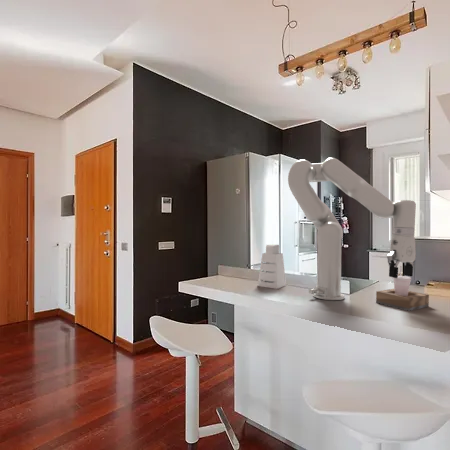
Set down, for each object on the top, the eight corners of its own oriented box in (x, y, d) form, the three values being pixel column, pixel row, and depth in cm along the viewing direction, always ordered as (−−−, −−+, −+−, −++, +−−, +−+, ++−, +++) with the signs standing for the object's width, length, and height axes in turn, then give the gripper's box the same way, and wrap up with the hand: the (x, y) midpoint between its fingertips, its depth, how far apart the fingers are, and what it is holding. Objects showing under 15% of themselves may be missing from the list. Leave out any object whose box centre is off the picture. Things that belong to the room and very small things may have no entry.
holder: (409, 310, 117) (409, 298, 117) (376, 302, 128) (376, 291, 128) (428, 306, 124) (428, 294, 124) (395, 299, 135) (395, 288, 135)
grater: (257, 285, 158) (258, 244, 158) (267, 282, 167) (267, 243, 166) (277, 288, 152) (278, 245, 152) (286, 285, 161) (287, 244, 161)
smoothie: (388, 300, 129) (389, 264, 129) (403, 299, 129) (404, 264, 129) (398, 304, 122) (399, 267, 122) (414, 304, 123) (415, 267, 123)
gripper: (399, 232, 118) (396, 279, 118) (425, 233, 127) (423, 276, 127) (380, 231, 124) (378, 276, 125) (406, 232, 133) (404, 273, 134)
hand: (400, 276), depth 126 cm, fingers open, 9 cm apart
